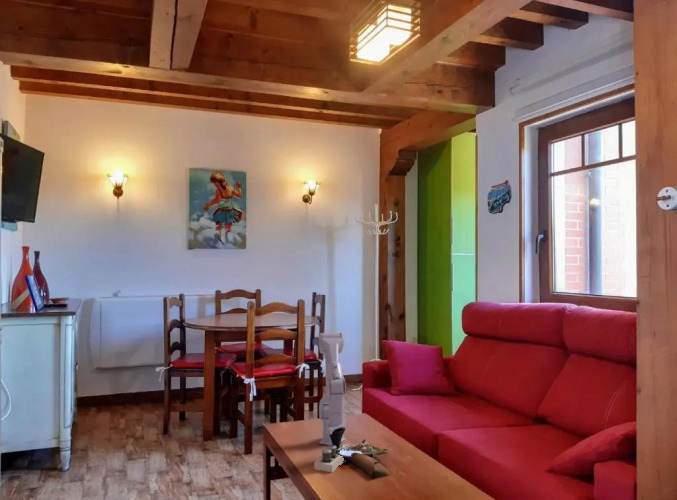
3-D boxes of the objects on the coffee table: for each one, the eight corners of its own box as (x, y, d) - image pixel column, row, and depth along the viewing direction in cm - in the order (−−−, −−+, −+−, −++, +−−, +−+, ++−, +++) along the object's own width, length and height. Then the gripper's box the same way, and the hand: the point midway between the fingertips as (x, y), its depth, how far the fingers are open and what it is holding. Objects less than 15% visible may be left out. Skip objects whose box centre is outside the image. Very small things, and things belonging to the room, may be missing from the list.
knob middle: (328, 454, 200) (328, 444, 200) (338, 455, 198) (338, 445, 198) (325, 457, 196) (325, 447, 196) (334, 458, 195) (334, 448, 195)
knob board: (330, 455, 206) (330, 448, 206) (348, 457, 203) (348, 451, 203) (314, 469, 192) (314, 462, 192) (332, 472, 189) (332, 465, 189)
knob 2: (333, 455, 204) (333, 446, 204) (342, 457, 202) (342, 447, 202) (329, 458, 200) (329, 449, 201) (338, 460, 199) (338, 450, 199)
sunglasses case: (394, 474, 187) (385, 459, 185) (378, 488, 184) (369, 473, 183) (369, 457, 203) (360, 443, 202) (354, 470, 200) (346, 456, 199)
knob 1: (324, 458, 196) (324, 448, 196) (333, 459, 194) (333, 449, 194) (319, 461, 192) (319, 451, 192) (329, 463, 191) (329, 453, 191)
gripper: (334, 405, 210) (333, 440, 210) (318, 415, 197) (318, 453, 196) (351, 407, 207) (351, 443, 207) (336, 417, 194) (336, 455, 194)
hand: (336, 448), depth 202 cm, fingers closed
